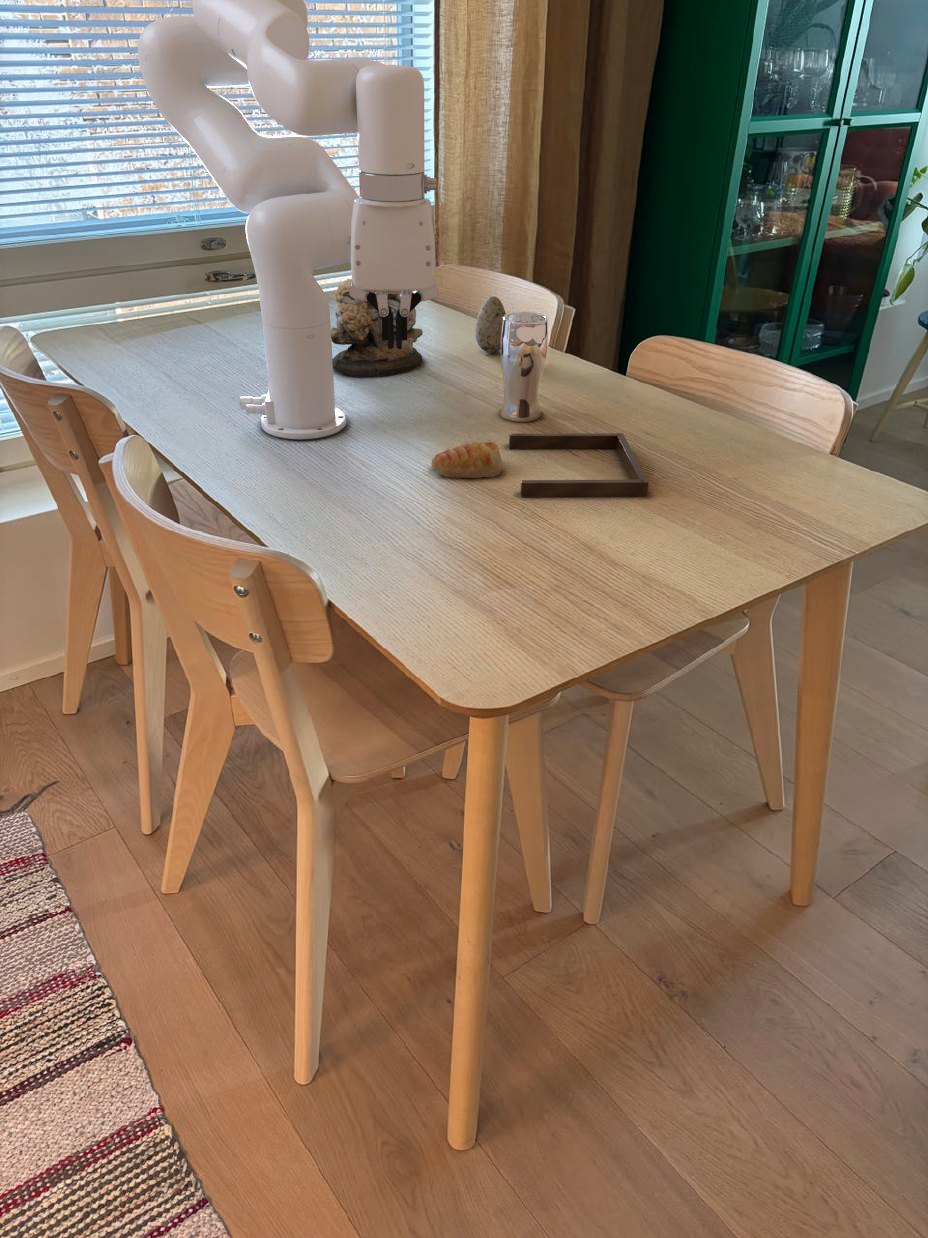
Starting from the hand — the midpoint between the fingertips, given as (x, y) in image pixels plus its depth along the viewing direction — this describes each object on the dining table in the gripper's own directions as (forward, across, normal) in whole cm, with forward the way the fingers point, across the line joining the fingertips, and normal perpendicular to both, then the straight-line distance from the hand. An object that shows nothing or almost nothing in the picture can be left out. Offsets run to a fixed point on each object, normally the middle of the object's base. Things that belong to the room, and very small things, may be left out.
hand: (395, 345), depth 121 cm
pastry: (+17, -10, 0) cm, 20 cm away
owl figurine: (+17, +4, -45) cm, 48 cm away
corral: (+17, -24, 0) cm, 29 cm away
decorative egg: (+17, -17, -53) cm, 58 cm away
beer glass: (+17, -19, -21) cm, 33 cm away
